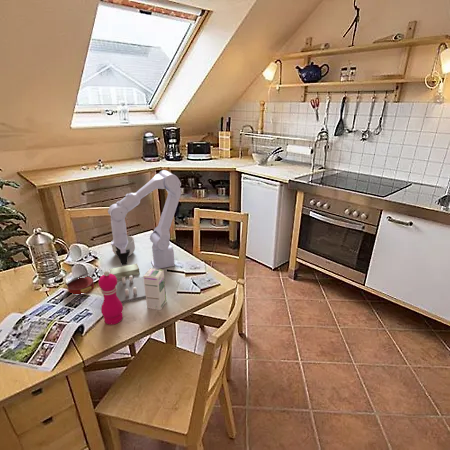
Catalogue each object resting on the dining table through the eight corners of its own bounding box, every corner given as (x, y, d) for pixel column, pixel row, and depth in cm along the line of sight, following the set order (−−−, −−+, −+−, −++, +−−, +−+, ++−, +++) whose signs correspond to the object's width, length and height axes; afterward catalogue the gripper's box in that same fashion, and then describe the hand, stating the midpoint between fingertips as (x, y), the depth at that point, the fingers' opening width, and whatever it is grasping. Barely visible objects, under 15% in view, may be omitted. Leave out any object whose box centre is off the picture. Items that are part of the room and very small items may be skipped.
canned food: (74, 304, 127) (56, 289, 121) (78, 288, 135) (62, 273, 130) (98, 291, 126) (82, 276, 121) (101, 276, 135) (85, 260, 129)
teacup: (132, 260, 151) (130, 245, 148) (109, 259, 151) (107, 244, 148) (139, 246, 164) (138, 232, 161) (119, 246, 164) (117, 232, 161)
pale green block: (137, 269, 144) (136, 263, 143) (139, 274, 140) (139, 268, 139) (110, 274, 139) (109, 269, 138) (111, 280, 135) (110, 274, 134)
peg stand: (148, 277, 137) (147, 269, 136) (155, 295, 126) (155, 286, 124) (105, 286, 130) (103, 278, 129) (108, 306, 119) (107, 297, 117)
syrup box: (161, 310, 117) (158, 277, 111) (146, 308, 118) (143, 275, 112) (166, 301, 122) (164, 269, 116) (152, 299, 123) (149, 267, 117)
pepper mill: (106, 312, 115) (98, 266, 107) (126, 312, 116) (119, 265, 108) (100, 326, 109) (91, 277, 101) (121, 325, 109) (114, 276, 101)
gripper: (107, 227, 136) (111, 254, 141) (111, 240, 124) (115, 270, 129) (124, 224, 139) (127, 251, 144) (129, 238, 127) (132, 266, 132)
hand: (123, 260), depth 137 cm, fingers open, 7 cm apart
